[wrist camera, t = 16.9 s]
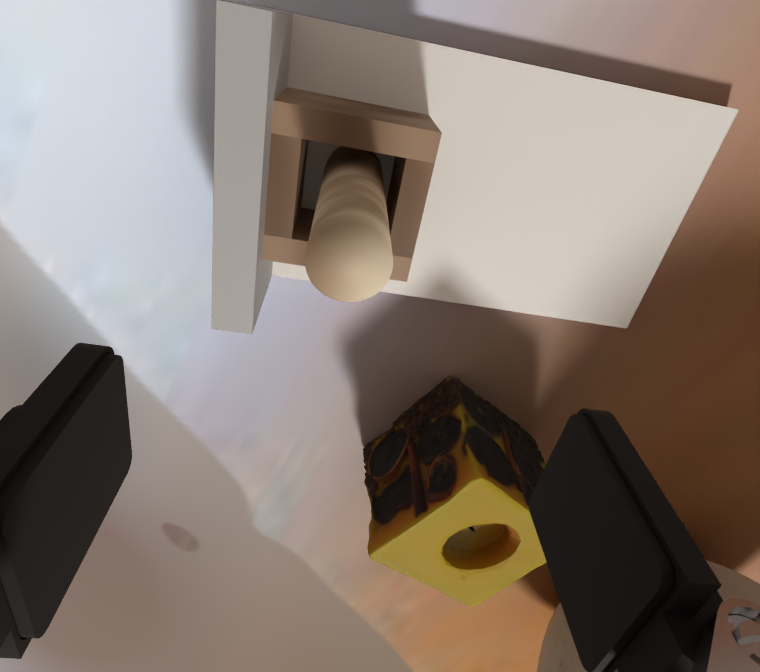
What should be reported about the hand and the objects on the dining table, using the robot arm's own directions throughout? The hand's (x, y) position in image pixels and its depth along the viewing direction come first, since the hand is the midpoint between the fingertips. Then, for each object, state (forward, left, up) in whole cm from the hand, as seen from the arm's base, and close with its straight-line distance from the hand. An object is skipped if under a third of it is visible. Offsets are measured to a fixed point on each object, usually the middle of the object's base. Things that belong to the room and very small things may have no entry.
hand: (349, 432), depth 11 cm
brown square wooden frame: (0, 0, -21) cm, 21 cm away
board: (-7, 0, -22) cm, 23 cm away
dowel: (0, 0, -21) cm, 21 cm away
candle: (-11, +20, -22) cm, 32 cm away
